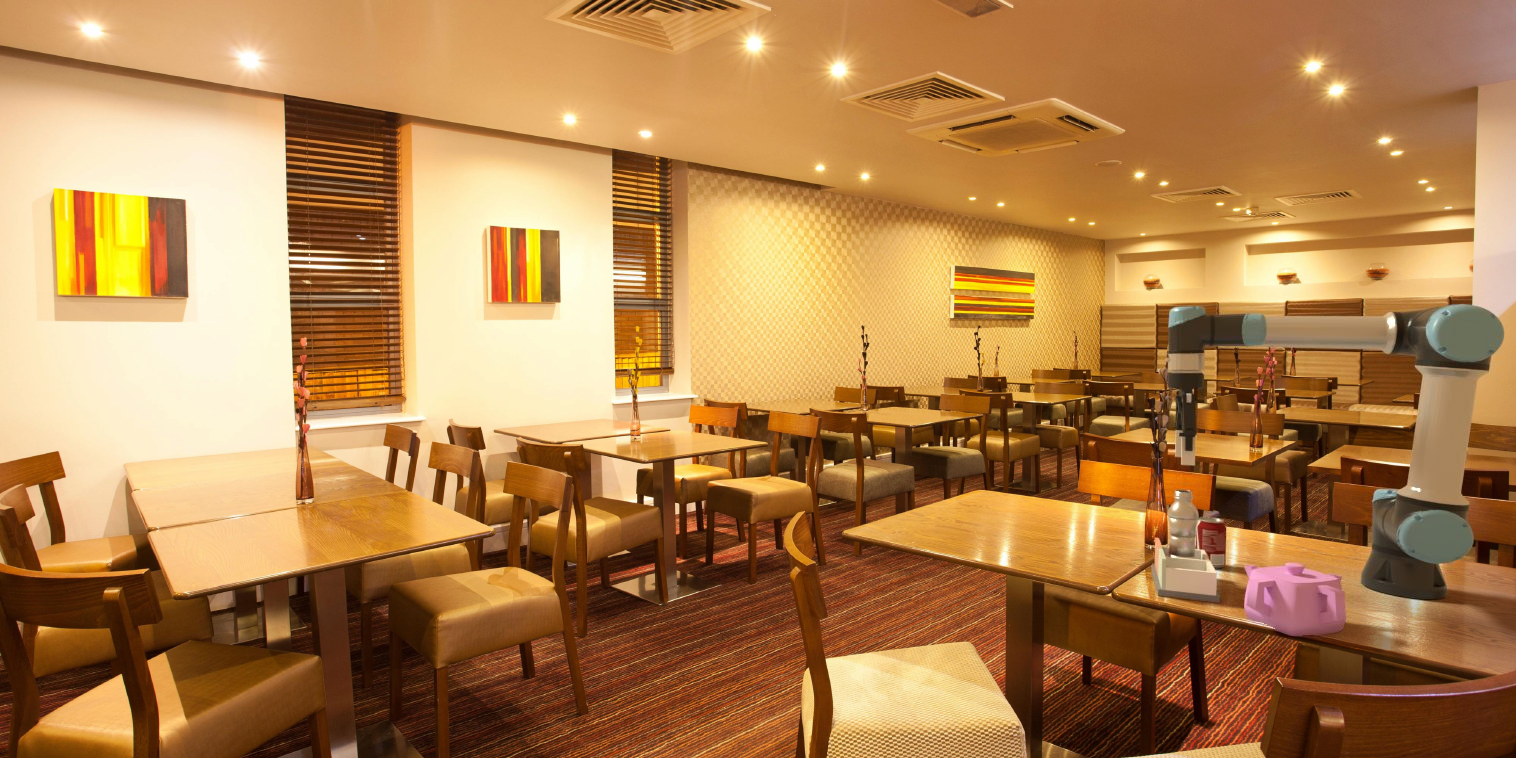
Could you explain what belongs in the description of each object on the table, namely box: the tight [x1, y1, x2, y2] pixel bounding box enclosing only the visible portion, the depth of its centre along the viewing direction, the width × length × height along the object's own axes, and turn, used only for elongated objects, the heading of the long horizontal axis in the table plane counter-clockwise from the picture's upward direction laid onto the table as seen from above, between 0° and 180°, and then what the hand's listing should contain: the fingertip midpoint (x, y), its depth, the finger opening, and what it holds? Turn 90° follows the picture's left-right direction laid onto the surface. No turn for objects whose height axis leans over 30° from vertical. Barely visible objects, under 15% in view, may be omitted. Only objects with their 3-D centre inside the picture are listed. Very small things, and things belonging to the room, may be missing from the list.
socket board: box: [1150, 537, 1221, 604], centre depth 178 cm, size 12×20×8 cm, turn 156°
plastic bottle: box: [1167, 489, 1199, 559], centre depth 182 cm, size 6×7×20 cm
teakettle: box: [1243, 562, 1347, 637], centre depth 154 cm, size 17×17×12 cm
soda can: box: [1195, 516, 1227, 570], centre depth 194 cm, size 7×7×12 cm
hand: (1184, 460), depth 181 cm, fingers open, 13 cm apart
